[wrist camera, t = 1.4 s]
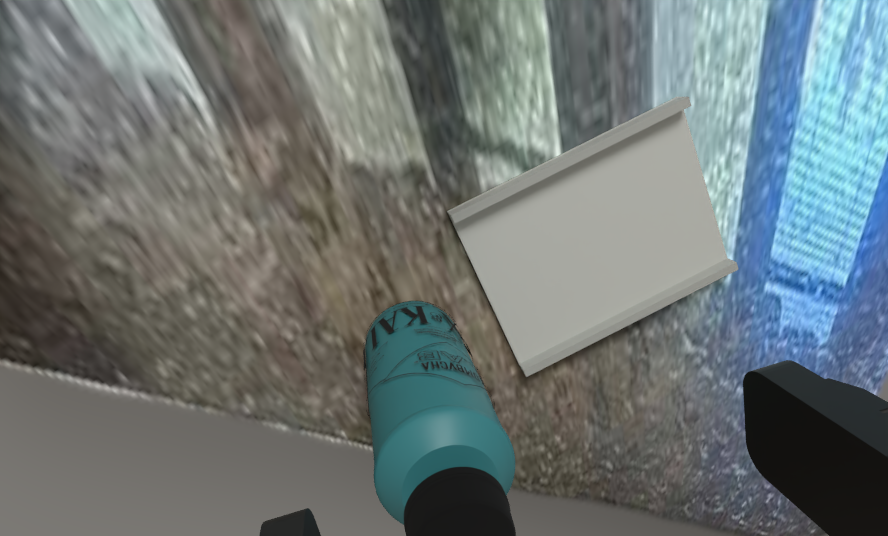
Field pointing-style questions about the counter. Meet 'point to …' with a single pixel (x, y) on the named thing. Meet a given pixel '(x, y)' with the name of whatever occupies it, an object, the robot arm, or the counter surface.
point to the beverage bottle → (434, 428)
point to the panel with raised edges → (595, 237)
